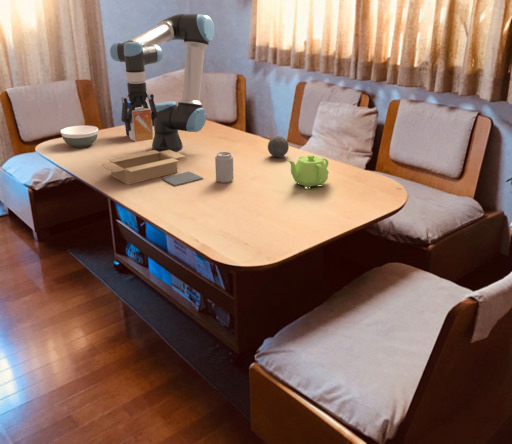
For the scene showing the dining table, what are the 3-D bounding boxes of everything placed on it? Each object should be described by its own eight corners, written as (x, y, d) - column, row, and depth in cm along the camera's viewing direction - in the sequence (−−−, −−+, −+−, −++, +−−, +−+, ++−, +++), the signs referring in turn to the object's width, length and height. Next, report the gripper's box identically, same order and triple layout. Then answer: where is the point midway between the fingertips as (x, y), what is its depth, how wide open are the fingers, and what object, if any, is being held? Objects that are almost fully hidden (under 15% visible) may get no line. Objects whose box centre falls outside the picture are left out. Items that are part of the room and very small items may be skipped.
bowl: (107, 143, 277) (106, 128, 274) (79, 152, 263) (77, 136, 260) (83, 138, 287) (81, 123, 283) (54, 146, 272) (52, 131, 269)
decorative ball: (277, 161, 251) (278, 140, 247) (263, 156, 258) (263, 136, 253) (292, 157, 257) (293, 137, 253) (278, 152, 264) (278, 132, 259)
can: (236, 178, 228) (235, 151, 223) (229, 184, 222) (229, 157, 217) (220, 177, 231) (219, 150, 226) (213, 182, 224) (212, 155, 219)
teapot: (319, 194, 212) (321, 164, 207) (286, 189, 217) (287, 159, 212) (331, 181, 226) (333, 152, 221) (299, 176, 231) (300, 148, 226)
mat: (189, 172, 236) (188, 171, 235) (203, 179, 228) (203, 177, 228) (161, 179, 228) (161, 178, 227) (174, 186, 220) (174, 185, 220)
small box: (135, 142, 223) (132, 111, 218) (129, 138, 228) (126, 108, 223) (153, 139, 228) (151, 109, 222) (147, 136, 232) (145, 106, 227)
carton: (166, 160, 252) (165, 147, 249) (190, 171, 237) (189, 158, 234) (97, 175, 232) (95, 162, 229) (119, 189, 217) (118, 174, 214)
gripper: (154, 77, 227) (158, 130, 236) (108, 83, 214) (114, 138, 224) (163, 80, 221) (167, 133, 231) (116, 86, 209) (122, 142, 219)
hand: (141, 136), depth 227 cm, fingers closed on small box, 8 cm apart
